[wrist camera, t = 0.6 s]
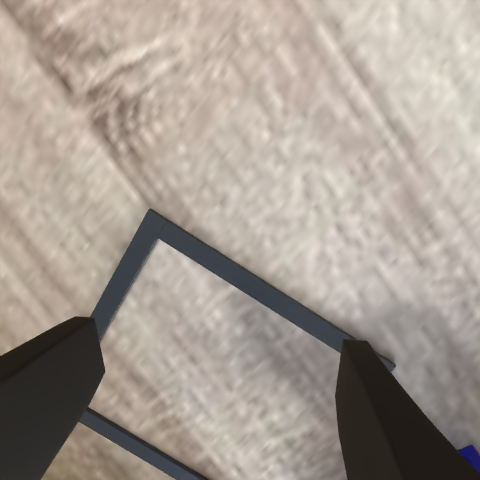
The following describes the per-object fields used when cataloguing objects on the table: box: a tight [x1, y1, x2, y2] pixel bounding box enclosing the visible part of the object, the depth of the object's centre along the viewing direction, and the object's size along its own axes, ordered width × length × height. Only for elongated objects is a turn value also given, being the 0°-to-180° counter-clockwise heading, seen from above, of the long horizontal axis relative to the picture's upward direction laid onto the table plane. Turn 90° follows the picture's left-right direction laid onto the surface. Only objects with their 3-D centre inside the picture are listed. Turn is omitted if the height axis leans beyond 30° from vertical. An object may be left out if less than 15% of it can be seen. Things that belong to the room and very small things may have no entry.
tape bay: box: [79, 209, 396, 480], centre depth 22 cm, size 16×17×1 cm
